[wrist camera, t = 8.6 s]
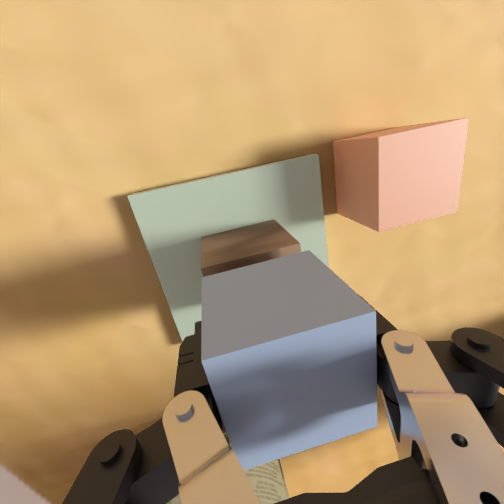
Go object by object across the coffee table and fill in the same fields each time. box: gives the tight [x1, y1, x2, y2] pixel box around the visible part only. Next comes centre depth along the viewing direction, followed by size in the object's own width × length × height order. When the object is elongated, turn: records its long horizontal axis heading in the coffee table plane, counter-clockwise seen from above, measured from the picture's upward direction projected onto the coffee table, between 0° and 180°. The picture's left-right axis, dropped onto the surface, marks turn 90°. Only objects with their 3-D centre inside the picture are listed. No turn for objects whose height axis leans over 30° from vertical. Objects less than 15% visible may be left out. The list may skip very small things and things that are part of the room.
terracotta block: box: [333, 118, 469, 232], centre depth 16 cm, size 5×5×5 cm
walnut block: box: [201, 219, 301, 277], centre depth 16 cm, size 5×5×5 cm
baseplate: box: [127, 154, 329, 342], centre depth 19 cm, size 12×12×1 cm
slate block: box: [201, 250, 377, 470], centre depth 10 cm, size 5×5×5 cm
